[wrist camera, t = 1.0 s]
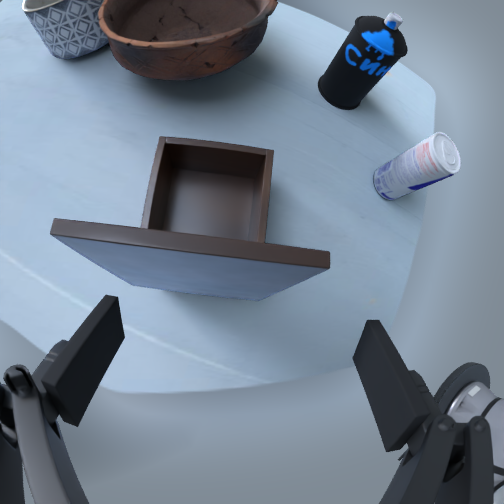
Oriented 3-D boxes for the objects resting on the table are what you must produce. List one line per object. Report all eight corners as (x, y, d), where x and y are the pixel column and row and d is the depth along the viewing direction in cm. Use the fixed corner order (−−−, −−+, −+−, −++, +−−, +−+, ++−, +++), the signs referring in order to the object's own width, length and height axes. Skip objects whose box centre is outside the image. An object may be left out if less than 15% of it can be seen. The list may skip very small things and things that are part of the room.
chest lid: (53, 217, 10) (48, 234, 10) (331, 251, 12) (330, 269, 12) (133, 277, 26) (131, 285, 26) (260, 292, 28) (259, 300, 28)
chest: (169, 164, 37) (159, 136, 28) (260, 176, 38) (274, 150, 30) (151, 279, 35) (133, 281, 26) (247, 291, 37) (258, 296, 28)
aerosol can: (323, 67, 42) (370, -10, 22) (363, 87, 43) (421, 21, 23) (312, 96, 41) (365, 12, 21) (356, 118, 42) (424, 49, 22)
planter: (71, 80, 35) (36, 21, 19) (40, 47, 34) (13, 1, 18) (155, 22, 38) (147, -41, 22) (111, -2, 37) (99, -52, 21)
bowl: (92, 65, 36) (67, 9, 21) (196, 2, 39) (198, -52, 25) (179, 139, 37) (167, 73, 22) (289, 59, 41) (316, -1, 26)
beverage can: (388, 207, 41) (454, 182, 26) (366, 181, 41) (427, 145, 26) (404, 186, 42) (466, 158, 27) (382, 161, 42) (441, 124, 27)
